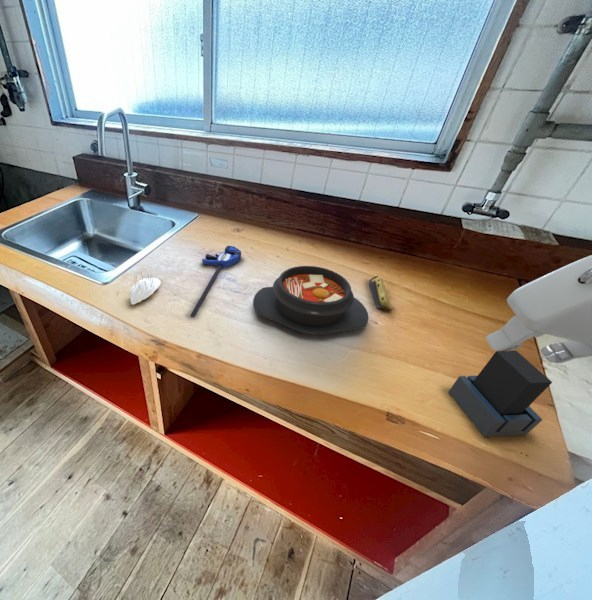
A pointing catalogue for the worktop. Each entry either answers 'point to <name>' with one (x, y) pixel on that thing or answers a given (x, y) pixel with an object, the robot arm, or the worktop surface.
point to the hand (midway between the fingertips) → (521, 351)
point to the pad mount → (490, 412)
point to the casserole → (311, 302)
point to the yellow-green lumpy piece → (379, 293)
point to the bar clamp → (219, 267)
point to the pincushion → (143, 289)
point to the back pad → (510, 382)
